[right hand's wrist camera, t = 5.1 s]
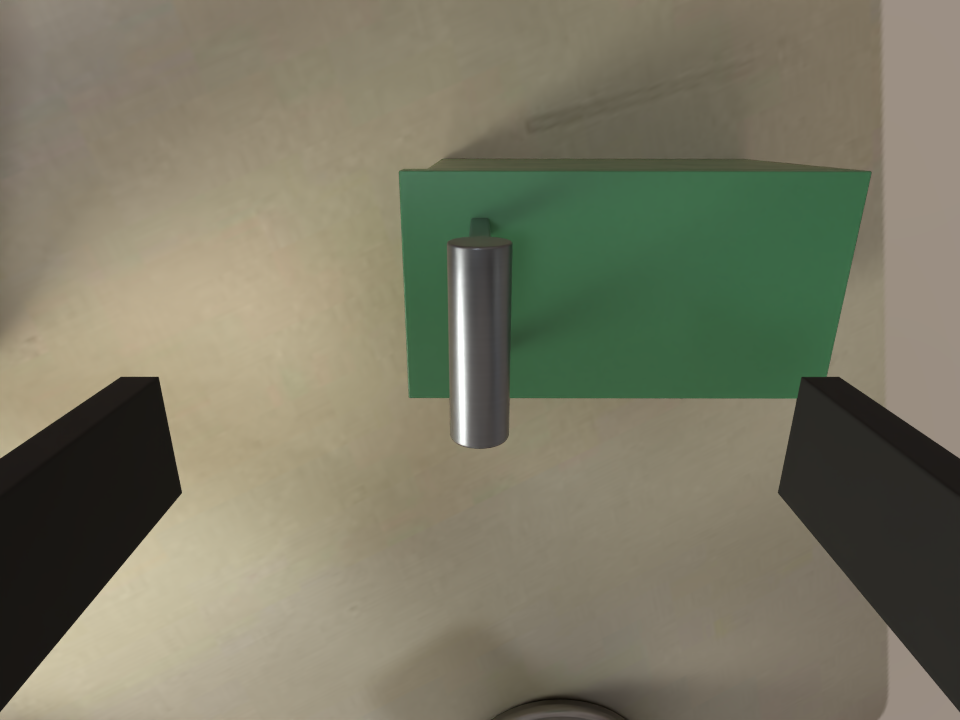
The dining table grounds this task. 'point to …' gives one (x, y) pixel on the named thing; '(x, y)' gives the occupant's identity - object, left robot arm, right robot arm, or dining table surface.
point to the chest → (620, 164)
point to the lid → (620, 284)
